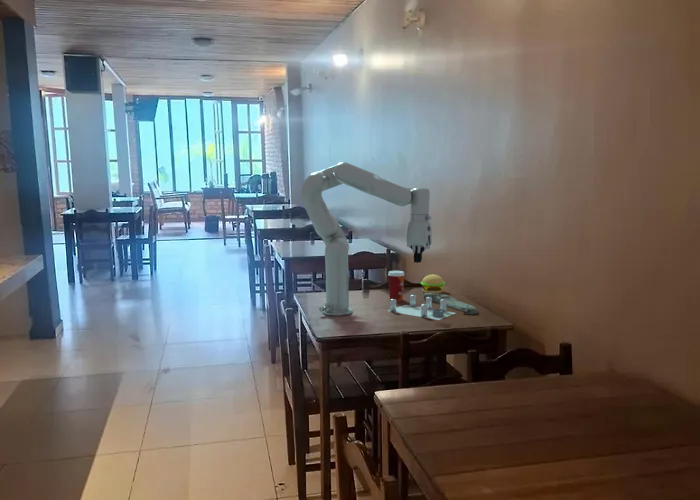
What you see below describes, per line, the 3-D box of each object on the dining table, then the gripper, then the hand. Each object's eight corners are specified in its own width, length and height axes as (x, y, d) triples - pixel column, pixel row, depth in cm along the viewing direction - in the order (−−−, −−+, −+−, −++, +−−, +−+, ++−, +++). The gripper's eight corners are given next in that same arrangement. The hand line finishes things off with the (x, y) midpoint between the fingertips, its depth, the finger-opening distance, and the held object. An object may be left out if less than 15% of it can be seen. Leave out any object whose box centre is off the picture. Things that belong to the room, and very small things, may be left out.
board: (439, 322, 232) (439, 319, 232) (386, 313, 247) (386, 310, 247) (456, 315, 243) (456, 313, 243) (405, 306, 258) (405, 304, 258)
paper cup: (405, 304, 264) (405, 273, 262) (388, 304, 264) (388, 273, 262) (404, 300, 272) (404, 270, 270) (387, 300, 272) (387, 270, 270)
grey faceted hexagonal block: (442, 317, 235) (442, 311, 235) (429, 316, 237) (430, 310, 237) (445, 315, 239) (445, 309, 239) (433, 313, 241) (433, 308, 241)
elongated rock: (463, 319, 242) (482, 318, 247) (465, 307, 242) (484, 305, 246) (416, 298, 273) (434, 297, 278) (417, 287, 272) (435, 286, 277)
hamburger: (447, 294, 283) (447, 276, 282) (422, 294, 283) (422, 277, 282) (442, 289, 295) (443, 272, 294) (418, 289, 295) (419, 272, 294)
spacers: (429, 318, 234) (429, 306, 233) (388, 311, 246) (388, 299, 246) (447, 311, 245) (447, 299, 245) (407, 304, 258) (408, 293, 257)
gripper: (439, 219, 240) (437, 263, 243) (409, 216, 250) (407, 259, 252) (430, 220, 235) (427, 265, 237) (399, 217, 244) (397, 261, 247)
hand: (417, 262), depth 245 cm, fingers closed
